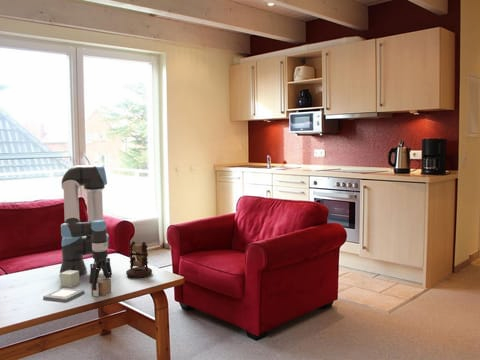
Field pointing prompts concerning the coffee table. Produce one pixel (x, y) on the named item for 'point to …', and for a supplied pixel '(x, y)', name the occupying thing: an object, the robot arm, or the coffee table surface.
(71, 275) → the sage block
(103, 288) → the walnut block
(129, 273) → the brown upright round-based piece
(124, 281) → the coffee table surface
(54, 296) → the board
